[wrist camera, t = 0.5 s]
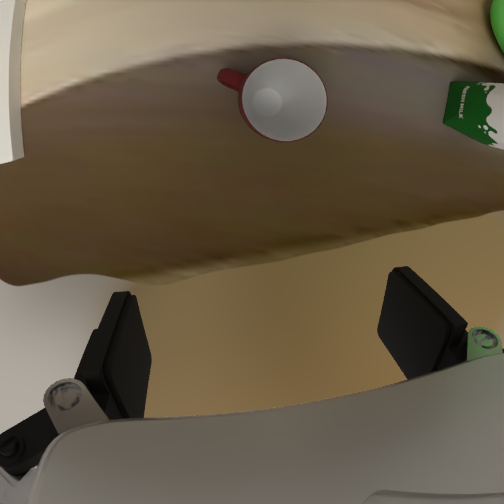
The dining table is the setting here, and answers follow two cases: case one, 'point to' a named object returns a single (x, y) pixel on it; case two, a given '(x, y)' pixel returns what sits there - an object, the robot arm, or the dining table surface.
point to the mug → (279, 98)
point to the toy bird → (498, 21)
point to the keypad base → (10, 79)
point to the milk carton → (477, 111)
